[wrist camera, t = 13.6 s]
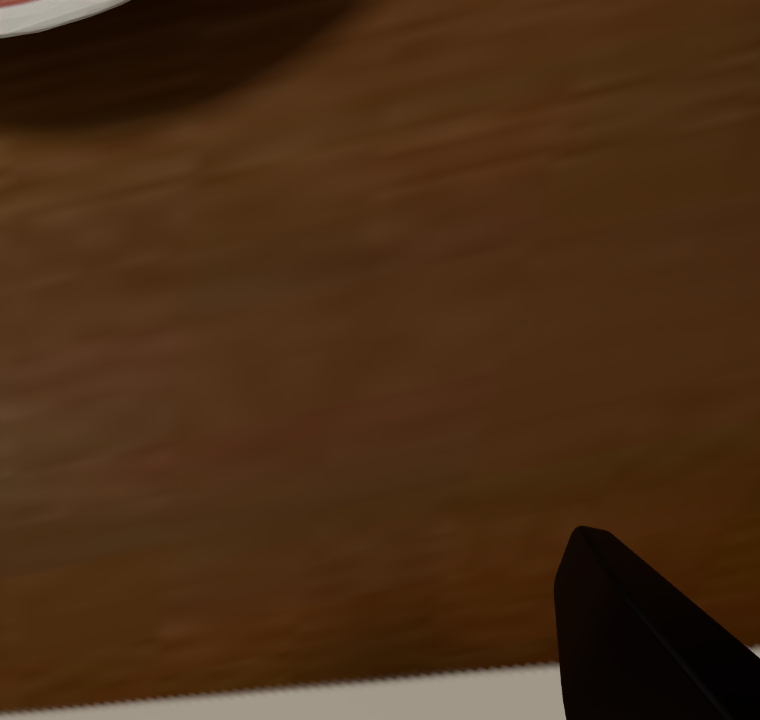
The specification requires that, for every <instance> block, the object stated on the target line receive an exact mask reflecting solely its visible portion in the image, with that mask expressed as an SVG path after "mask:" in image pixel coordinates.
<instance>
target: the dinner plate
mask: <svg viewBox="0 0 760 720" xmlns="http://www.w3.org/2000/svg"><path fill="white" fill-rule="evenodd" d="M129 1H131V0H0V38H6V37H13V36H19V35H25V34H32V33H38V32H42V31H46V30H49V29H52V28H56V27H59V26H62V25H65V24H69V23H72V22H75V21H79V20H82V19H85V18H89V17H92V16H94V15H97V14H99V13H102V12H105V11H107V10H110V9H112V8H115V7H118V6H120V5H122V4H124V3H127V2H129Z"/></svg>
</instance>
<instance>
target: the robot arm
mask: <svg viewBox="0 0 760 720" xmlns="http://www.w3.org/2000/svg"><path fill="white" fill-rule="evenodd" d="M554 602H555V615H556V627H557V639H558V651H559V663H560V675H561V686H562V695H563V703H564V708H565V715H566V720H760V658H759V657H758V656H756V655H755V654H754V653H753V652H752V651H751V650H749V649H748V648H747V647H746V646H745V645H743V644H742V643H741V642H740V641H739V640H737V639H736V638H735V637H734V636H733V635H731V634H730V633H729V632H728V631H727V630H726V629H724V628H723V627H722V626H721V625H720V624H718V623H717V622H716V621H715V620H714V619H712V618H711V617H710V616H709V615H708V614H707V613H705V612H704V611H703V610H702V609H701V608H699V607H698V606H697V605H696V604H695V603H693V602H692V601H691V600H690V599H689V598H687V597H686V596H685V595H684V594H683V593H682V592H680V591H679V590H678V589H677V588H676V587H674V586H673V585H672V584H671V583H670V582H668V581H667V580H666V579H665V578H664V577H663V576H661V575H660V574H659V573H658V572H657V571H655V570H654V569H653V568H652V567H651V566H649V565H648V564H647V563H646V562H645V561H644V560H642V559H641V558H640V557H639V556H638V555H636V554H635V553H634V552H633V551H632V550H630V549H629V548H628V547H627V546H626V545H624V544H623V543H622V542H621V541H620V540H619V539H617V538H616V537H615V536H614V535H613V534H611V533H610V532H609V531H606V530H602V529H597V528H592V527H587V526H578V527H577V528H575V529H574V531H573V532H572V534H571V536H570V539H569V541H568V544H567V547H566V550H565V552H564V555H563V558H562V560H561V563H560V566H559V568H558V571H557V574H556V577H555V582H554Z"/></svg>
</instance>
